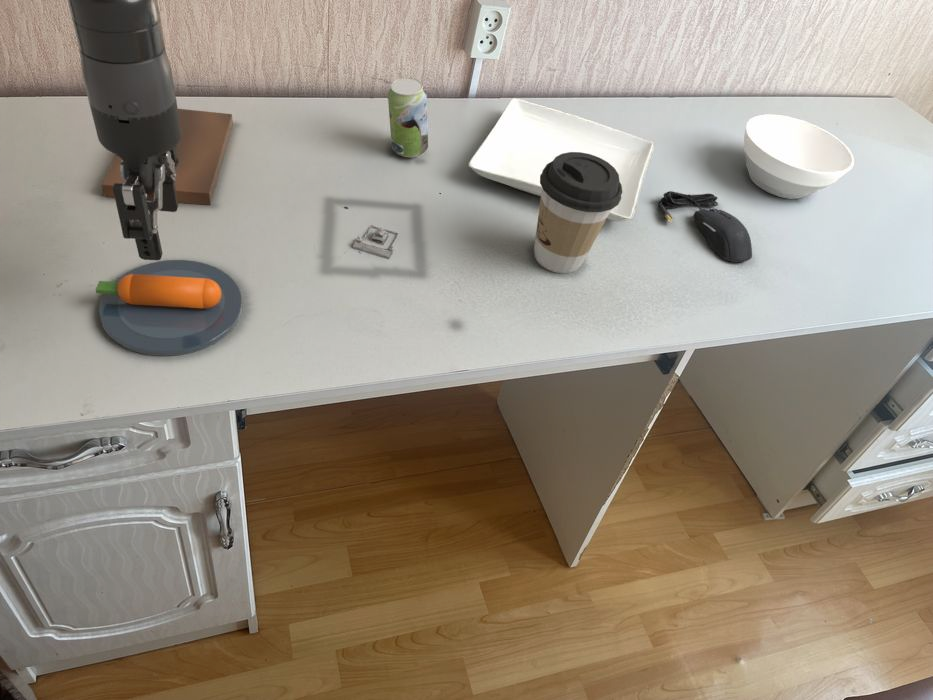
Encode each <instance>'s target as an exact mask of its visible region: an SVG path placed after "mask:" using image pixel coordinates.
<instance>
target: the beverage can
mask: <svg viewBox="0 0 933 700" xmlns="http://www.w3.org/2000/svg"><path fill="white" fill-rule="evenodd" d="M427 95H428V94H427V90H426V89H425V88H424V86H423V83H422V82H421V81H420V80H418V79H416V78H412V77H402V78H397V79H395V80H394V81H393V82H391V84H390V88H389V90H388V93H387V103H388V104H387V105H388V117H389V129H390V140H391V141H390V142H391V143H390V144H391V150H392V151H393V152H394V153H395V154H397V155H399V156H401V157H403V158H409V159H411V158H416V157H419V156H421V155H422V154H424V153H425V152H426V151H427V150H428V148H429V130H428V128H429V127H428V125H429V124H428V98H427V97H428V96H427Z"/></svg>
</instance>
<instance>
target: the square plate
mask: <svg viewBox="0 0 933 700" xmlns="http://www.w3.org/2000/svg"><path fill="white" fill-rule="evenodd" d="M654 149H655V143H654V142H653V141H650V140H648V139H645V138H642V137H639V136H636V135H633V134H630V133H628V132H624V131H622V130H620V129H616V128H613V127H610V126H607V125H604V124H601V123H599V122H596V121H592V120H590V119H586V118H583V117H580V116H578V115H575V114H572V113H567V112H564V111H561V110H557V109H555V108H551V107H547V106H544V105H540V104H537V103H533V102H530V101H526V100H523V99H521V98H520V99H519V98H512V99H511V100H510V101H509V102H508V103H507V105H506V107H505V108H504V110H503V112H502V114H501V116H500V117H499V118H498V119H497V121H496V122H495V124H494V126H493V128H492V129H491V130H490V131H489V134H488V135H486V138H485V139H484V140H483V142H482V143H481V144H480V146H479V147H478V149H477V150H476V152H475V153H474V155H473V156H472V157H471V159H470V161H469V162H468V168H470V169H472V171H474V172H475V173H476V174H478V175H479V176H481V177H483V178H484V179H485V178H486V179H488V180H491V181H493V182H496V183H500V184H503V185H506V186H508V187H510V188H513V189H516V190H518V191H523V192H525V193H529V194H532V195H534V196H538V197H540V198H541V193H542V186H541V184H540V175H541V174H542V171H543V169H544V168H545V166H546V165H547V164H548V163H550V162H552V161H553V160H554V159H555V157H557V156H558V155H560V154H563V153H568V152H582V153H587V154H591V155H594V156H597V157H599V158H601V159H603V160H605V161H606V162H608V163H609V164H610V165H612V166H613V167H614V168H615V169H616V171H617V173H618V174H619V180H620V183H621V185H622V195H621V200H620V202H619V204H618V205H617V206H616V207H614V208H613V209H612V210H611V211H610V213H609V215H608V217H607V219H608V220H611V221H614V222H615V221H616V222H626V221H629V220H630V221H631V220H632V219H633V218H634V217H635V214H636V210H637V206H638V201H639V198H640V194H641V191H642V186H643V183H644V179H645V175H646V173H647V169H648V167H649V164H650V162H651V158H652V156H653V153H654Z"/></svg>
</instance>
